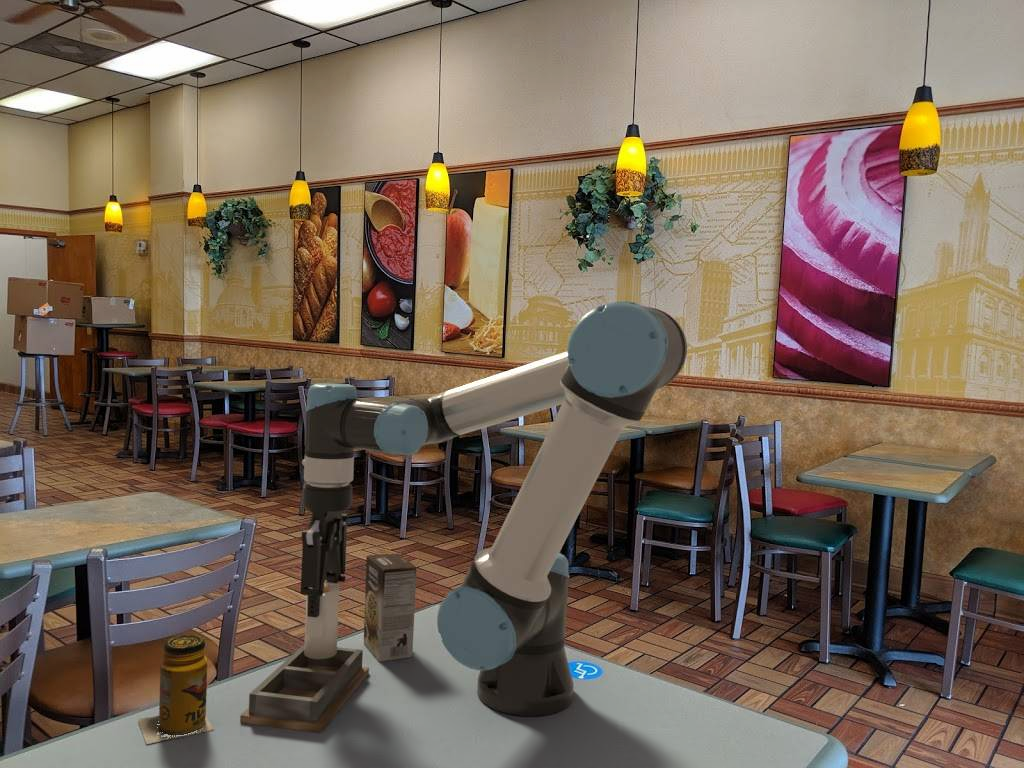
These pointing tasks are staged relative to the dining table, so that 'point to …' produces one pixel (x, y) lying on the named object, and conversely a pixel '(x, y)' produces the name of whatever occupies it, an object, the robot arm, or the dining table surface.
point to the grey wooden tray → (306, 691)
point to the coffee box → (389, 606)
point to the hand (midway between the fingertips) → (321, 628)
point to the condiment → (180, 691)
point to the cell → (325, 628)
